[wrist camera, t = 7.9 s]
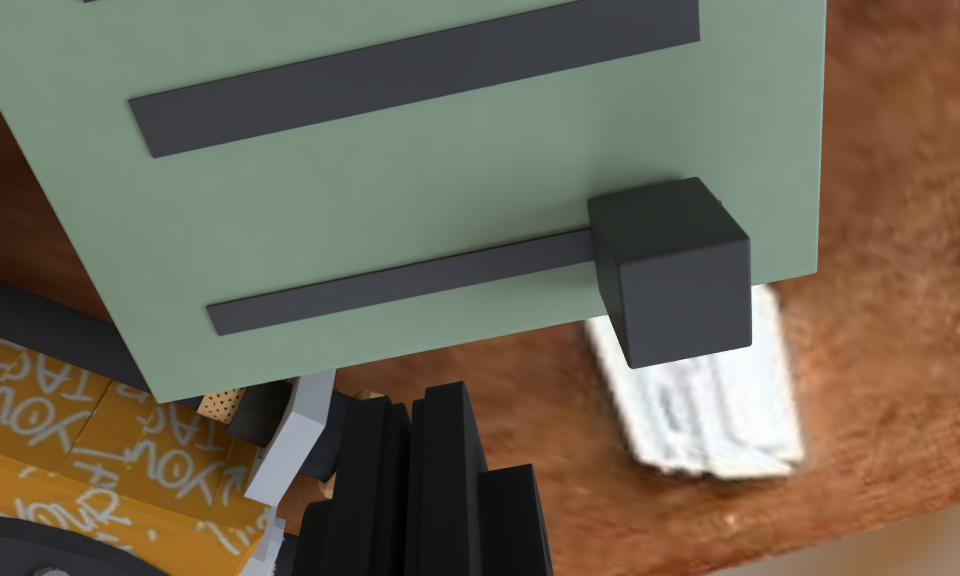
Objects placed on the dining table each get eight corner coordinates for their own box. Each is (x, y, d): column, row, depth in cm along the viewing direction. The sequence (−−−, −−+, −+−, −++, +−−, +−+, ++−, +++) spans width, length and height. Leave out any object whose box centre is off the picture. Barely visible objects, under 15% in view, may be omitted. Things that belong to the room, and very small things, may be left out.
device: (-707, 93, 16) (492, 532, 25) (-354, 21, 23) (479, 381, 32) (-608, 677, 25) (241, 845, 34) (-377, 496, 32) (274, 673, 41)
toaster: (106, -153, 22) (-154, -163, 12) (654, -283, 21) (846, -406, 11) (251, 217, 28) (155, 408, 18) (680, 126, 27) (820, 276, 17)
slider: (585, 197, 16) (616, 264, 13) (698, 174, 16) (752, 237, 13) (598, 292, 17) (629, 371, 14) (703, 272, 17) (754, 347, 14)
